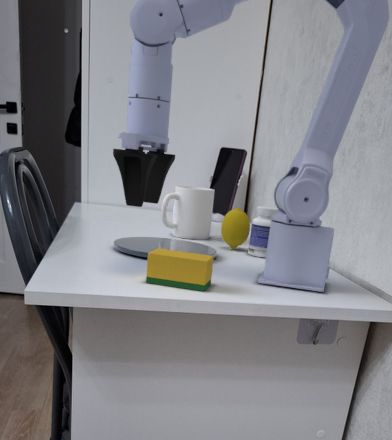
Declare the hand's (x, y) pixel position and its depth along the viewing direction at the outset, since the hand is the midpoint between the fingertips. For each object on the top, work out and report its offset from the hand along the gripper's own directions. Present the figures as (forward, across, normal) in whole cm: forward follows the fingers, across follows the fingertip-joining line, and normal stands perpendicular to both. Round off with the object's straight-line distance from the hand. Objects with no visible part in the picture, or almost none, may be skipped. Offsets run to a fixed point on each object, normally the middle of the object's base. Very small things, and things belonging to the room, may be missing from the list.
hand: (142, 204), depth 78 cm
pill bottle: (+10, -27, +16) cm, 33 cm away
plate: (+9, -16, 0) cm, 18 cm away
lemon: (+10, -30, +9) cm, 33 cm away
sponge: (+9, +6, +8) cm, 14 cm away
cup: (+10, -38, -3) cm, 39 cm away
